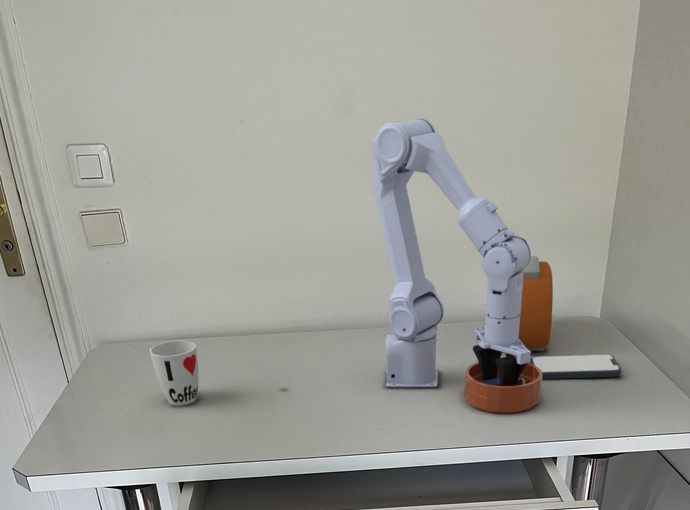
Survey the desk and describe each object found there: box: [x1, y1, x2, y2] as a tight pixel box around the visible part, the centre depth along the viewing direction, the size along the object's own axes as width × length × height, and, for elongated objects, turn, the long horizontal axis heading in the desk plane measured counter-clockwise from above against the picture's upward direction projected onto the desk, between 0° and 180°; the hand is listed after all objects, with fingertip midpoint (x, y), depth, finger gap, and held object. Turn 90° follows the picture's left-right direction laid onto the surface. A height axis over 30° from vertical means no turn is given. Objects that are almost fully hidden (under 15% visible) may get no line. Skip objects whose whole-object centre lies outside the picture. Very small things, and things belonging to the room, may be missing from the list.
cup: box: [149, 340, 199, 407], centre depth 132 cm, size 8×8×10 cm
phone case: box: [529, 354, 622, 380], centre depth 139 cm, size 9×2×16 cm
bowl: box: [464, 361, 543, 414], centre depth 129 cm, size 13×13×5 cm
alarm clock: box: [517, 255, 554, 352], centre depth 152 cm, size 23×9×17 cm, turn 172°
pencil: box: [481, 377, 527, 386], centre depth 129 cm, size 10×3×3 cm, turn 114°
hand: (497, 389), depth 129 cm, fingers open, 5 cm apart
